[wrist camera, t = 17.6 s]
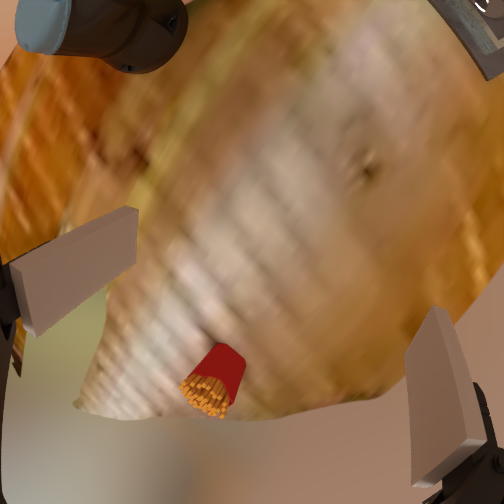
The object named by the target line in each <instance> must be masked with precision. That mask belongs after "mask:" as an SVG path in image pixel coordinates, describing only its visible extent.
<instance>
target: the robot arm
mask: <svg viewBox="0 0 504 504" xmlns="http://www.w3.org/2000/svg"><path fill="white" fill-rule="evenodd" d="M187 22H188V17H187V11H186V8H185V5H184V3H183V2H182V0H19V2H18V6H17V11H16V15H15V33H16V38H17V41H18V43H19V45H20V46H21V47H22V48H23V49H24V50H26V51H28V52H34V53H42V54H44V55H64V56H80V57H93V58H100V59H102V60H103V61H105V62H106V63H107V64H109V65H110V66H112V67H113V68H115V69H116V70H119V71H121V72H125V73H132V74H143V73H147V72H151V71H153V70H155V69H157V68H159V67H160V66H162V65H163V64H165V63H166V62H167V61H168V60H169V59H170V58H171V57H172V56H173V55H174V54H175V52H176V51H177V50H178V48H179V47H180V45H181V43H182V41H183V39H184V36H185V33H186V29H187ZM138 213H139V210H138V209H135V208H132V207H129V206H123V207H121V208H119V209H117V210H114V211H112V212H110V213H108V214H106V215H103V216H101V217H99V218H97V219H95V220H93V221H91V222H88V223H86V224H84V225H82V226H80V227H78V228H76V229H74V230H72V231H70V232H68V233H66V234H64V235H62V236H60V237H58V238H56V239H54V240H52V241H48V242H45V243H43V244H41V245H39V246H38V247H37V248H34V249H32V250H30V251H29V253H28V252H26V253H24V254H23V255H21V256H19V257H17V258H15V259H13V260H12V261H10V262H8V263H6V264H4V265H3V266H2V261H1V256H0V504H7V503H6V500H5V499H4V496H3V493H2V484H1V440H2V422H3V410H4V400H5V390H6V384H7V377H8V370H9V364H10V358H11V353H12V348H13V343H14V338H15V333H16V321H15V320H16V319H18V318H19V317H20V316H21V319H22V323H23V326H24V329H25V330H26V331H27V332H29V333H30V334H32V335H33V336H34V337H36V338H38V337H39V336H40V335H41V334H43V333H44V332H45V331H46V330H47V329H49V328H50V327H51V326H53V325H54V324H55V323H57V322H58V321H59V320H60V319H62V318H63V317H64V316H66V314H68V313H69V312H71V311H72V310H73V309H75V308H76V307H77V306H78V305H80V304H81V303H82V302H84V301H85V300H86V299H87V298H89V297H90V296H92V295H93V294H94V293H96V292H97V291H98V290H100V289H101V288H102V287H104V286H105V285H106V284H108V283H109V282H110V281H112V280H113V279H115V278H116V277H117V276H119V275H120V274H121V273H123V272H124V271H126V270H127V269H128V268H130V267H131V266H132V265H134V264H135V263H136V248H137V228H138ZM404 362H405V371H406V379H407V390H408V401H409V402H408V403H409V416H410V434H411V435H410V436H411V486H413V487H424V488H431V487H432V486H434V485H435V484H436V483H437V482H439V481H440V480H442V489H441V490H439V491H438V492H437V493H435V494H434V495H432V496H431V497H429V498H428V499H426V500H425V501H424V502H422V503H423V504H426V503H427V502H428V503H427V504H504V449H503V448H500V447H498V446H497V441H496V437H495V433H494V428H493V425H492V421H491V417H490V416H489V415H490V413H489V409H488V407H487V402H486V399H485V395H484V393H483V391H482V390H481V388H480V387H479V385H478V384H477V383H475V382H472V379H471V376H470V372H469V369H468V366H467V363H466V360H465V357H464V354H463V351H462V348H461V345H460V342H459V340H458V337H457V334H456V331H455V329H454V326H453V323H452V321H451V318H450V316H449V313H448V311H447V310H446V309H443V308H440V307H437V306H434V305H432V307H431V309H430V310H429V312H428V314H427V316H426V318H425V320H424V321H423V323H422V325H421V327H420V328H419V330H418V332H417V334H416V335H415V337H414V339H413V340H412V342H411V344H410V345H409V347H408V349H407V350H406V352H405V354H404Z"/></svg>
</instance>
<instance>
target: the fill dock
mask: <svg viewBox="0 0 504 504" xmlns="http://www.w3.org/2000/svg"><path fill="white" fill-rule="evenodd" d="M428 1H429V2H430V3H431V5H432V6H433V7H434V8H435V9H436V10H437V12H438V13H439V14H440V15H441V17H442V18H443V19H444V20H445V22H446V23H447V24H448V25H449V27H450V28H451V29H452V31H453V32H454V33H455V35H456V36H457V37H458V39H459V40H460V41H461V43H462V44H463V46H464V47H465V49H466V50H467V51H468V53H469V54H470V56H471V57H472V59H473V60H474V62H475V63H476V65H477V67H478V68H479V70H480V71H481V73H482V75H483V76H484V78H485V79H486V81H489V80H491V79H493V78H494V77H496V76H498V75H499V74H501V73H503V72H504V19H502V20H494V19H491V18H488V17H486V16H485V15H483V14H482V13H480V12H479V11H478V10H477V9H476V8H475V7H474V6H473V5H472V3H471V2H470V0H428Z"/></svg>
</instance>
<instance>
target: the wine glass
mask: <svg viewBox="0 0 504 504" xmlns="http://www.w3.org/2000/svg"><path fill="white" fill-rule="evenodd" d="M470 2H471V3H472V5H473V6H474V7H475V8H476V9H477V10H478V11H479V12H480V13H482V14H483V15H485V16H486V17H488V18H491V19H494V20H502V19H504V0H470Z"/></svg>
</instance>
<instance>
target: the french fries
mask: <svg viewBox="0 0 504 504" xmlns="http://www.w3.org/2000/svg"><path fill="white" fill-rule="evenodd" d="M245 367H246V363H245V360H244V358H243V357H241V356H240V355H239V354H238V353H237V352H236V351H234V350H233V349H232V348H231V347H229V346H228V345H227V344H223V343H218V344H217V345H215V346H214V347H213V348H212V349H211V350H210V352H209V353H208V354H207V355H206V356H205V357H204V359H203V360H202V361H201V362H200V363H199V364H198V365H197V367H196V368H195V369H194V370H193V371H192V372H191V373H190V375H189V376H188V377H187V379H185V380H184V381H183V382H182V384H181V385H180V386H179V388H180V390H182V389H183V388H184V390H183V391H182V393H183V394H184V397H186V398H187V399H188V398H189V397H190V398H189V401H188V403H189V404H191V403H193V404H194V405H193V407H194V408H196V407H198V408H199V409H202V411H203V412H204V413H205V412H206V411H207V410H208V413H207V414H208V415H209V416H210V415H213V416H216V415H217V414H218V413H219V412H220V411H221V413H220V416H219V417H220V418H222V419H223V418H224V416H225V414H226V411H227V408H228V407H229V406H230V405H232V404H233V403H234V400H235V397H236V394H237V391H238V388H239V385H240V382H241V379H242V376H243V373H244V370H245ZM195 389H196V391H195ZM194 391H195V392H194ZM193 392H194V393H193ZM192 394H193V395H192ZM191 395H192V396H191Z"/></svg>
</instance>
